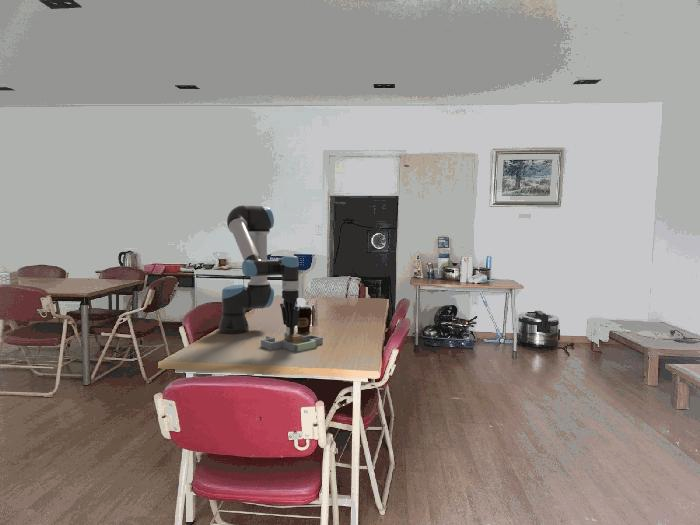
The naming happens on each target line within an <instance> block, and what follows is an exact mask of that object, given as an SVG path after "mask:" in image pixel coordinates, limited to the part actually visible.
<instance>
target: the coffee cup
mask: <svg viewBox="0 0 700 525" xmlns="http://www.w3.org/2000/svg"><path fill="white" fill-rule="evenodd" d="M312 314H313V309H312V307H311V306H310V307H309V306H301V309H300V312H299V318H298V324H297V326H296V329H297V334H301V335H303V334H304V335H305V334H310V333H311V331H310V329H311V325H312Z"/></svg>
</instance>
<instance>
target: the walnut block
mask: <svg viewBox="0 0 700 525" xmlns="http://www.w3.org/2000/svg"><path fill="white" fill-rule="evenodd" d="M303 336H304V335H303V334H300V333H294V334H291V335H287V339H286V341H287V342H290V343H293V344H301V343H303Z"/></svg>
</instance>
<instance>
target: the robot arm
mask: <svg viewBox="0 0 700 525" xmlns="http://www.w3.org/2000/svg"><path fill="white" fill-rule="evenodd" d="M227 215H228V216H227V218H226V219H227V220H226V223H227V224H226V225H227V228H228V231H229V232H230V233H232V235H233V237H234V239H235V242H236V245H237V247H238V250H239V252H240V254H241V258H242V259H243V260H242V265H241V271H242V274H243V276H245V277H250V281H249V282H248V283H247V287H246V285H244V284H233V285H229V286H225V287H224V288H222V291H221V319H220V321H219V325H218V332H219V333H221V334H241V333H242V334H243V333H247V332H248V331H249V329H250V327H249V322H248V320H247V316H246V310H255V309H261V310H262V309H267V308H269V307H271V306H272V304H273V303H274V299H275V298H274V297H275V291H274V287H273V286H272V285H271V283H270V282H269V281H268V277H269V276H281V288H282V292H281V298H282V299H283V302H282V303H280V304H279V306H280V309H281V315H282V323H283V325H285V326H286V332H287V335H291V334H295V327H297V324H298V318H299V312H300V309H301V307H302V306H300V305H298V301H297V300H298V298H300V297H299V294H300V293H299V286H300V284H299V283H300V282H299V279H300V278H299V275H300V274H299V270H300V268H299V267H300V263H299V257H298V256H296V255H283V256H282V258H275V259H268V234H269V233H270V232H271V231H270V230H271V229H273V228H274V224H275V218H274V213H273V211H272V209H271V208H270V207H269V206H263V205H238V206H236V207H234V208H233V209H231V211H230V212H229V213H228V214H227Z"/></svg>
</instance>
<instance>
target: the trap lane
mask: <svg viewBox="0 0 700 525" xmlns="http://www.w3.org/2000/svg"><path fill="white" fill-rule="evenodd" d="M284 339H285V340H278V341H276V338H275V337H272V336H269V335H266V336H265V339H260V347H261V348H264V349H267V350H270V351H273V350H277V349H286V350H288V351H291V352H295V353H297V352H302V351H306V350H311V349H315V348H318V346H319V345H320V346H321V345H323V344H324V338H323V337H322V336H318V335H314V334H307V335H303V343H301V344H293V343H290V342H287V331H285V332H284Z"/></svg>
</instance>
